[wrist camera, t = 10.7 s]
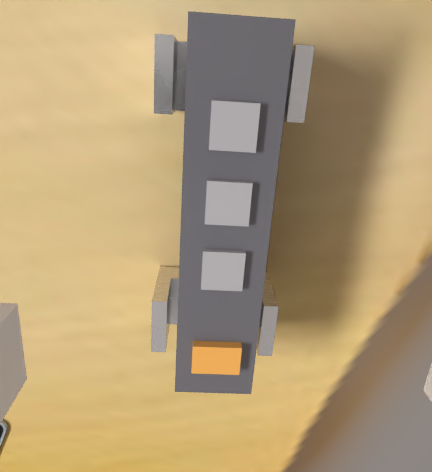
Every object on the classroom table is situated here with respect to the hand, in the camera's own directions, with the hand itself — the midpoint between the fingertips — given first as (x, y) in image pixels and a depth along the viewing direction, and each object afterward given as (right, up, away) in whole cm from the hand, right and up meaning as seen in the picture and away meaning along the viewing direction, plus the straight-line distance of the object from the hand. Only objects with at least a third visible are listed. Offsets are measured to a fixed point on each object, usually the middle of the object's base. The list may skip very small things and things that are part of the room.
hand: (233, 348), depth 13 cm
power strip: (0, +6, +16) cm, 17 cm away
